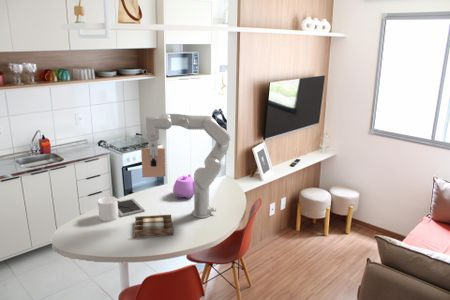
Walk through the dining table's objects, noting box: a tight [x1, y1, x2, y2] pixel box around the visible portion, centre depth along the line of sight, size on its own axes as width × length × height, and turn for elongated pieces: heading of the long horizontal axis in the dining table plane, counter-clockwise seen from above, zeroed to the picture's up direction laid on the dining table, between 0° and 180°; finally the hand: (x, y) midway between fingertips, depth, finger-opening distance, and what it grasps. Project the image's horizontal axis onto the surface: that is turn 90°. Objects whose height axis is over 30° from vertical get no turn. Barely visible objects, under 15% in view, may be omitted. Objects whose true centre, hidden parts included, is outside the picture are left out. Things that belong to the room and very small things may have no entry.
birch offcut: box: [143, 218, 164, 223], centre depth 237 cm, size 12×4×6 cm, turn 101°
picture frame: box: [117, 198, 146, 218], centre depth 262 cm, size 16×3×21 cm
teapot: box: [172, 173, 194, 200], centre depth 284 cm, size 20×20×15 cm
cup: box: [97, 195, 119, 222], centre depth 248 cm, size 12×12×12 cm
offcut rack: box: [133, 214, 174, 238], centre depth 237 cm, size 22×18×4 cm
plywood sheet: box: [141, 147, 166, 178], centre depth 241 cm, size 14×2×18 cm, turn 100°
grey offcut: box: [143, 223, 164, 230], centre depth 231 cm, size 12×4×6 cm, turn 96°
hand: (153, 165), depth 241 cm, fingers closed on plywood sheet, 2 cm apart
